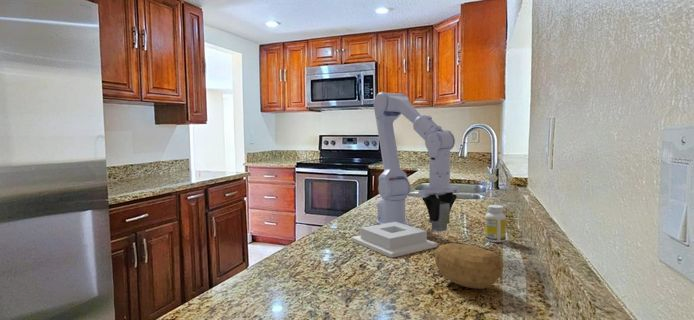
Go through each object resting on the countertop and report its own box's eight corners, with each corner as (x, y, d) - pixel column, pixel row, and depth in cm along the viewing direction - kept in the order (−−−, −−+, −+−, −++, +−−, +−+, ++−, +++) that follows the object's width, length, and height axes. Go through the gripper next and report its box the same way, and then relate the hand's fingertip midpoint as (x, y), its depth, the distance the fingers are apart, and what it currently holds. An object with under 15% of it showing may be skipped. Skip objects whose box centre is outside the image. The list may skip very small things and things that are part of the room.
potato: (450, 269, 82) (450, 234, 82) (512, 289, 72) (513, 249, 71) (422, 281, 76) (423, 243, 75) (486, 304, 65) (486, 260, 65)
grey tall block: (429, 229, 107) (429, 202, 106) (438, 227, 109) (439, 200, 108) (439, 232, 103) (439, 204, 103) (449, 230, 106) (449, 202, 105)
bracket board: (351, 240, 105) (351, 226, 105) (394, 232, 114) (394, 219, 114) (391, 257, 90) (391, 242, 90) (437, 246, 99) (437, 232, 99)
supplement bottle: (502, 237, 107) (502, 204, 106) (508, 243, 101) (509, 208, 101) (482, 237, 107) (483, 204, 107) (488, 242, 102) (488, 208, 101)
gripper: (431, 176, 98) (431, 226, 99) (467, 172, 106) (467, 219, 107) (413, 173, 104) (413, 221, 105) (448, 170, 112) (448, 214, 113)
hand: (439, 219), depth 106 cm, fingers closed on grey tall block, 4 cm apart
